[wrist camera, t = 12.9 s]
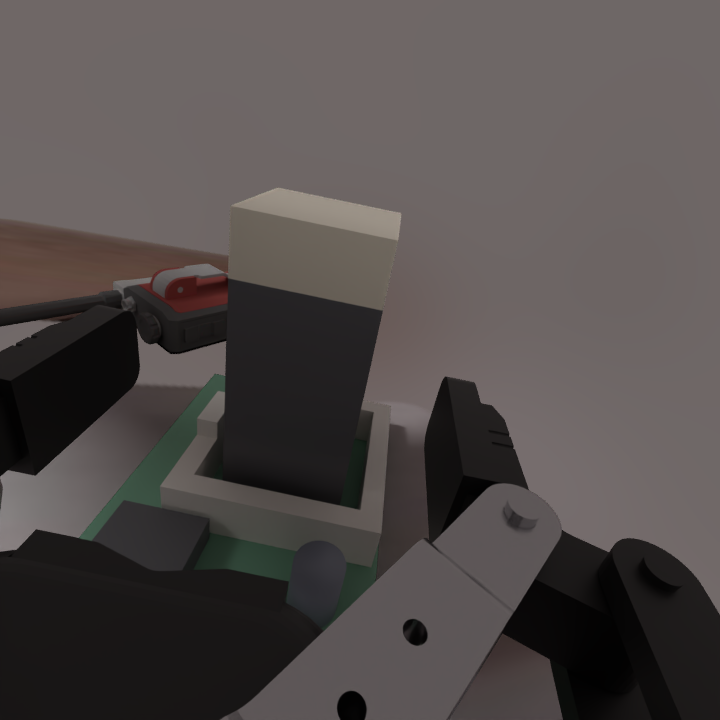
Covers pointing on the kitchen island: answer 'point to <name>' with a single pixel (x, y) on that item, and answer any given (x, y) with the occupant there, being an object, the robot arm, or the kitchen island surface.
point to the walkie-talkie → (154, 307)
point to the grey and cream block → (301, 337)
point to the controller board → (251, 513)
